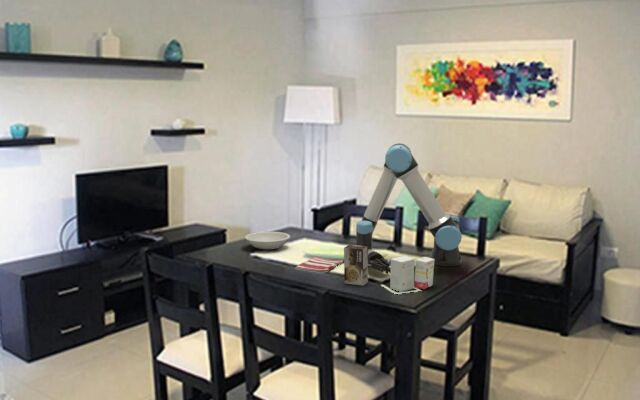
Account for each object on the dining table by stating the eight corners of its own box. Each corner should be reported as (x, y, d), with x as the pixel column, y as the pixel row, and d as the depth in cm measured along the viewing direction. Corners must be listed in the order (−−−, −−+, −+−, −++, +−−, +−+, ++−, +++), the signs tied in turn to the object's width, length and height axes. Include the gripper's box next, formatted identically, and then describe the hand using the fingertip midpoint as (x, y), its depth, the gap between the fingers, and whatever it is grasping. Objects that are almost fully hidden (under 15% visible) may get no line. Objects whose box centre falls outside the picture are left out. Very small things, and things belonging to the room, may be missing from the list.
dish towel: (346, 262, 303) (346, 257, 302) (326, 274, 282) (326, 269, 281) (315, 258, 310) (315, 253, 309) (293, 270, 289) (293, 265, 288)
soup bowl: (288, 254, 317) (288, 241, 316) (242, 253, 318) (241, 241, 316) (291, 243, 341) (291, 231, 340) (248, 243, 341) (248, 231, 340)
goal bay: (406, 282, 267) (406, 281, 267) (421, 291, 255) (421, 290, 255) (380, 285, 263) (380, 284, 263) (395, 294, 251) (395, 293, 251)
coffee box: (368, 282, 268) (368, 245, 266) (363, 286, 263) (363, 249, 260) (349, 279, 272) (349, 243, 270) (343, 283, 266) (343, 247, 264)
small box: (402, 285, 264) (403, 255, 261) (414, 288, 259) (415, 258, 256) (389, 288, 259) (390, 258, 256) (400, 292, 254) (401, 262, 251)
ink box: (424, 289, 256) (425, 261, 255) (413, 287, 259) (415, 259, 258) (433, 285, 263) (435, 258, 262) (422, 283, 266) (424, 256, 264)
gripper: (385, 265, 285) (410, 279, 264) (359, 268, 281) (383, 283, 259) (385, 250, 284) (411, 262, 262) (360, 252, 280) (383, 265, 258)
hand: (397, 272), depth 261 cm, fingers closed
